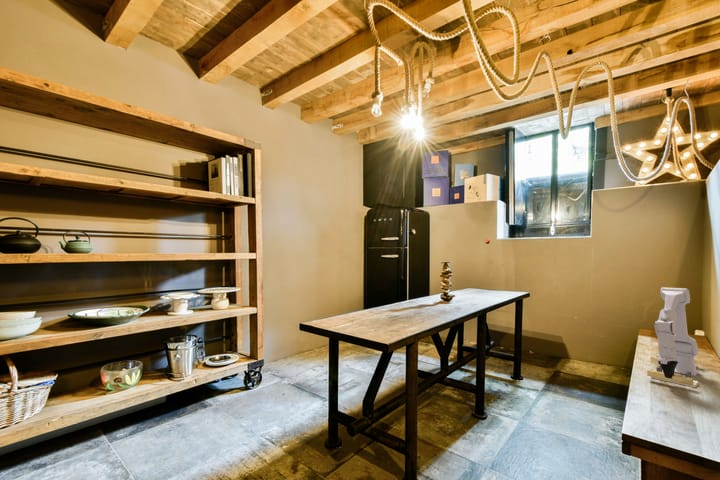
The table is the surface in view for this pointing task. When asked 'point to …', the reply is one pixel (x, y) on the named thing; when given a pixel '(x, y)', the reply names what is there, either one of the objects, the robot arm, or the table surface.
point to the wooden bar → (674, 378)
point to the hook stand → (678, 382)
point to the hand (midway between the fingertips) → (669, 377)
